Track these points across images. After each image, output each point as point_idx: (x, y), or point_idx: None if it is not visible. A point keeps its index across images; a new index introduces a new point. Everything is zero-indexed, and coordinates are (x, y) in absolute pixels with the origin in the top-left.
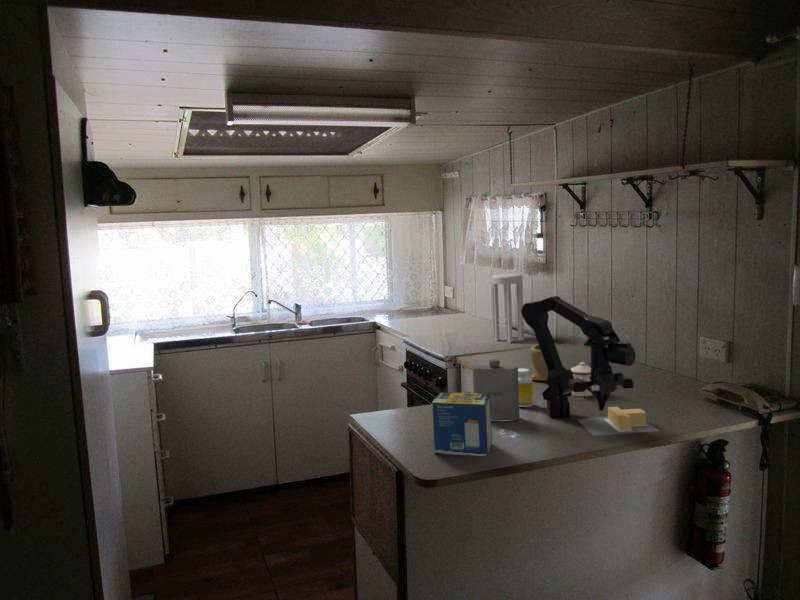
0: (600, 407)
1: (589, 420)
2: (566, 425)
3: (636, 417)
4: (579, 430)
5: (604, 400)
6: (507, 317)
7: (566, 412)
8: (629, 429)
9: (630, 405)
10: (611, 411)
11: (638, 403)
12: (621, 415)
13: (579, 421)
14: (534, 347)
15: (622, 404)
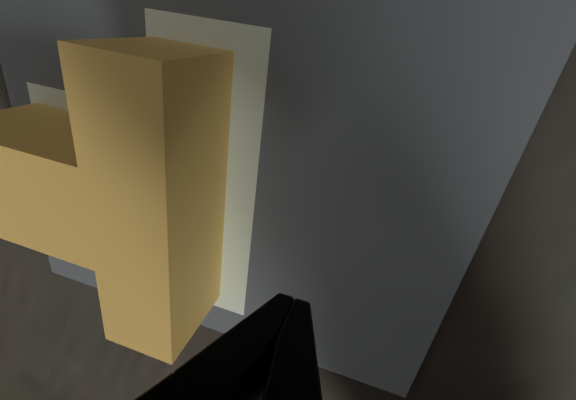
0: (299, 330)
1: (340, 337)
2: (560, 363)
3: (36, 131)
4: (561, 232)
5: (199, 394)
6: None
7: None
8: (165, 38)
9: (56, 370)
10: (177, 295)
11: (23, 367)
12: (135, 140)
13: (418, 359)
14: None
15: (83, 394)
